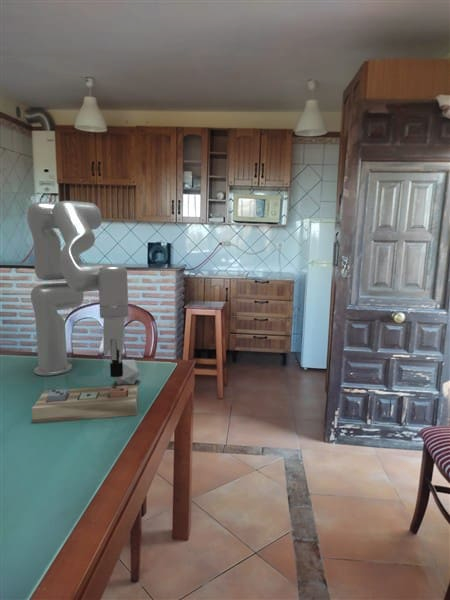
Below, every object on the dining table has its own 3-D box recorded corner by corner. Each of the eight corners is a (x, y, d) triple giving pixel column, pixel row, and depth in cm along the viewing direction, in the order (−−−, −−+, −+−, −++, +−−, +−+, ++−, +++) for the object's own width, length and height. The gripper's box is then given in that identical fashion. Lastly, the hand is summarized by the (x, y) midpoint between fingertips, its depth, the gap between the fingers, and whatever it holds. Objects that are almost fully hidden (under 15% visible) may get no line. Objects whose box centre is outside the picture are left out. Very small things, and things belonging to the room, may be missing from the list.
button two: (111, 396, 109) (110, 385, 109) (127, 395, 110) (126, 384, 110) (109, 402, 105) (109, 391, 105) (126, 401, 106) (125, 390, 106)
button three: (51, 400, 106) (51, 389, 106) (68, 399, 107) (67, 388, 107) (47, 406, 102) (46, 395, 102) (65, 405, 103) (64, 394, 103)
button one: (82, 402, 108) (81, 392, 108) (98, 401, 109) (97, 391, 108) (79, 409, 104) (78, 398, 103) (96, 408, 105) (95, 397, 104)
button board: (45, 404, 110) (44, 390, 109) (137, 397, 115) (137, 385, 114) (32, 423, 98) (31, 408, 98) (136, 415, 103) (135, 401, 103)
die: (125, 392, 121) (143, 365, 123) (103, 377, 122) (120, 351, 124) (131, 391, 129) (147, 367, 131) (110, 378, 130) (126, 353, 132)
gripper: (103, 307, 111) (106, 368, 113) (95, 316, 96) (99, 386, 99) (130, 306, 112) (132, 367, 114) (126, 315, 97) (129, 384, 100)
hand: (116, 375), depth 107 cm, fingers closed
